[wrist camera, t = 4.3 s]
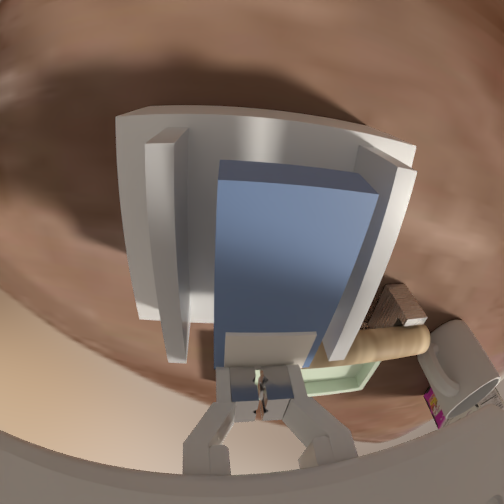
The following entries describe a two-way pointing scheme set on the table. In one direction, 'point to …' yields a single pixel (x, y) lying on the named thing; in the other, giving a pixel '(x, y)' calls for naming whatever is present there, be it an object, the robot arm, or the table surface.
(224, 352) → the blue box
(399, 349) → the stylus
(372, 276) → the grey card holder
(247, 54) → the table surface
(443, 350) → the cup
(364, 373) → the tray
